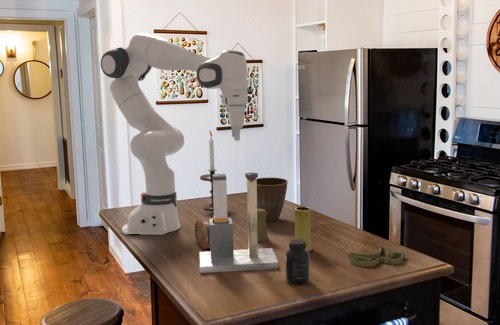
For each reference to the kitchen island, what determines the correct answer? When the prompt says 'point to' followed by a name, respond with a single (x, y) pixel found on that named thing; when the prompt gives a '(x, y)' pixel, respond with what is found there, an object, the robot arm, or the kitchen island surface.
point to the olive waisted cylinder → (261, 225)
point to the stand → (222, 242)
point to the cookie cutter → (365, 259)
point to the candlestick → (210, 176)
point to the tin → (202, 233)
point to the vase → (303, 225)
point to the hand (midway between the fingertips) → (235, 138)
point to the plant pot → (271, 196)
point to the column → (220, 198)
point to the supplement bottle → (297, 263)
